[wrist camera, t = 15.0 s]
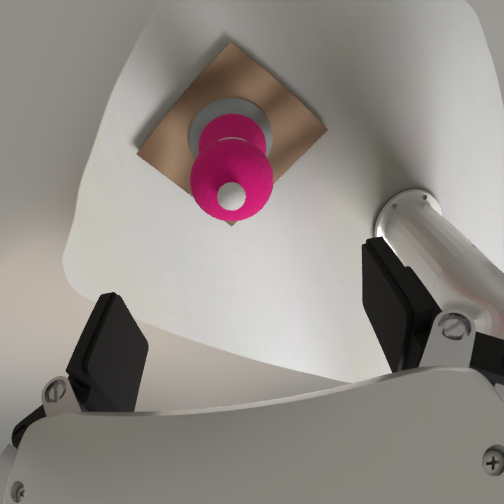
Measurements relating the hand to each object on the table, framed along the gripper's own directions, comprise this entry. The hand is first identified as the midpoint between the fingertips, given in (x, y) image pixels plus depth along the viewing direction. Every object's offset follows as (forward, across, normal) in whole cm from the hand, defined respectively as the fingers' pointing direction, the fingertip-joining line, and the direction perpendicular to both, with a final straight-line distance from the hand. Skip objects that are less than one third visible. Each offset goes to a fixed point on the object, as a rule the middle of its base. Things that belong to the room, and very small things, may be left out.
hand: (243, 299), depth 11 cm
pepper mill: (+29, +1, -1) cm, 29 cm away
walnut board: (+31, +1, -1) cm, 31 cm away
